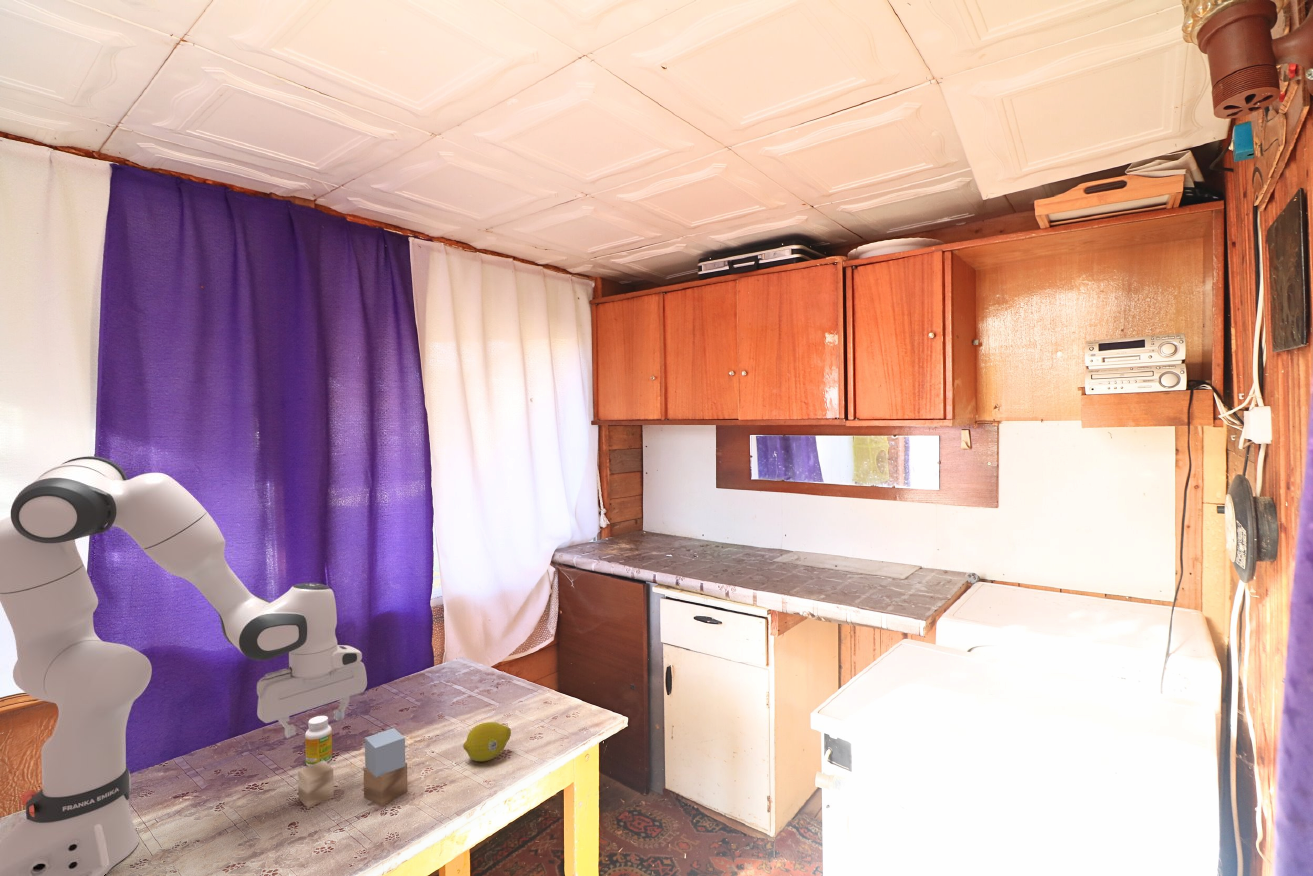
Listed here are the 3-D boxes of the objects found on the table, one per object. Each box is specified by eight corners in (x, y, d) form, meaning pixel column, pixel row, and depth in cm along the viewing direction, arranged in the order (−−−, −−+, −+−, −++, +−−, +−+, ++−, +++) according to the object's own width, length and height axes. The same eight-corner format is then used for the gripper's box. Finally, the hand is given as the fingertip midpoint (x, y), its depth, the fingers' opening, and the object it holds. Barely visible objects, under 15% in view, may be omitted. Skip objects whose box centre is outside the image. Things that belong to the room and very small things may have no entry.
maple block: (308, 808, 125) (307, 779, 125) (298, 799, 129) (298, 770, 128) (333, 797, 129) (333, 768, 129) (324, 788, 132) (323, 760, 132)
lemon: (464, 771, 138) (464, 736, 138) (462, 754, 145) (461, 721, 145) (513, 761, 142) (513, 727, 142) (509, 745, 149) (508, 712, 149)
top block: (375, 777, 125) (375, 748, 125) (365, 766, 130) (364, 737, 130) (405, 766, 129) (404, 737, 129) (394, 755, 134) (393, 728, 134)
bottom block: (382, 806, 126) (381, 777, 125) (364, 797, 129) (363, 769, 129) (407, 791, 131) (407, 763, 131) (389, 783, 134) (389, 755, 134)
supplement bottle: (320, 768, 140) (319, 726, 140) (300, 766, 141) (299, 724, 141) (337, 756, 145) (336, 715, 145) (317, 754, 146) (316, 713, 146)
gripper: (261, 680, 118) (263, 752, 119) (369, 650, 134) (370, 714, 134) (251, 672, 123) (253, 741, 123) (356, 644, 138) (358, 705, 138)
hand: (315, 727), depth 129 cm, fingers open, 8 cm apart
